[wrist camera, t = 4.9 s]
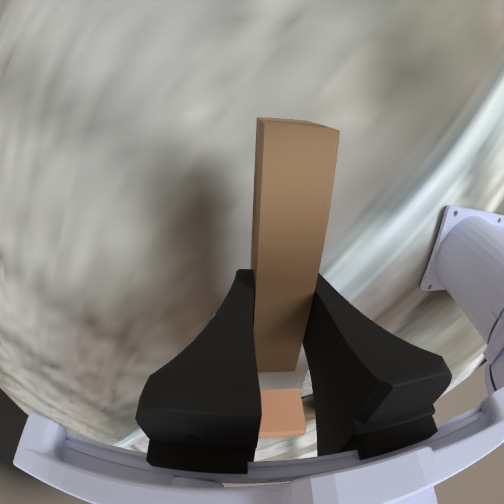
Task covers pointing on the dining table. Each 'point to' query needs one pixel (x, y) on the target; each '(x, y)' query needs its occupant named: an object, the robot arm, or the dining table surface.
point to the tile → (282, 413)
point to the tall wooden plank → (288, 240)
